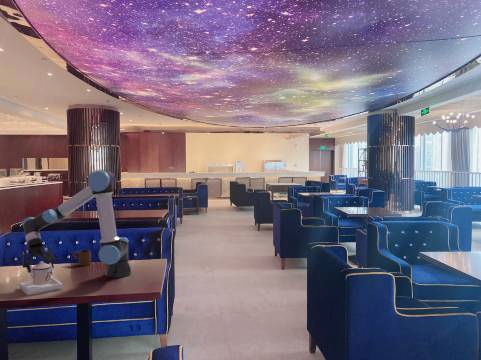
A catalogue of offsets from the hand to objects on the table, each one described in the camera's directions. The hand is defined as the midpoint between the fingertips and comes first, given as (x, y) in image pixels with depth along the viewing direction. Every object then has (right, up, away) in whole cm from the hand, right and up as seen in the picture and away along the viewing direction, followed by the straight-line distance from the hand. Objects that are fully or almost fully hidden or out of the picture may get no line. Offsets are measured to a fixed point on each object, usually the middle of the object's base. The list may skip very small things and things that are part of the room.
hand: (42, 275), depth 215 cm
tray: (-2, -8, +3) cm, 9 cm away
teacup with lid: (-1, -5, +3) cm, 6 cm away
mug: (-1, -7, +56) cm, 57 cm away
